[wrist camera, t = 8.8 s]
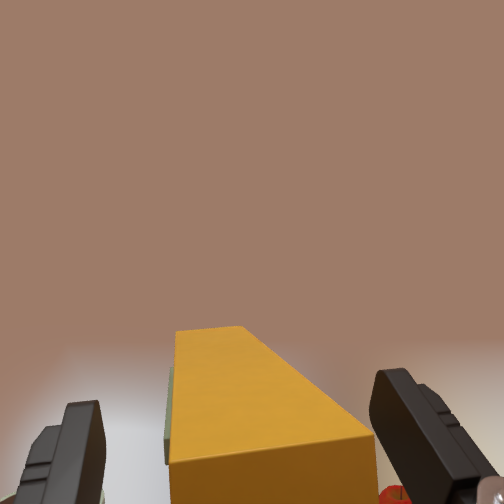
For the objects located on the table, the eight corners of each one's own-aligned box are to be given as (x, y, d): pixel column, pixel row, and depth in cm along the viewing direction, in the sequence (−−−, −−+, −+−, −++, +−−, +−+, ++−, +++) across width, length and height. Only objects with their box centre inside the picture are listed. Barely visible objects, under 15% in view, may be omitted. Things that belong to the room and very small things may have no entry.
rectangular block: (176, 604, 8) (168, 461, 8) (178, 373, 25) (175, 331, 25) (385, 563, 8) (375, 433, 8) (244, 366, 26) (241, 325, 26)
